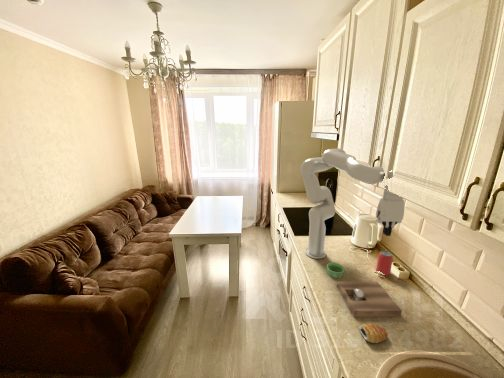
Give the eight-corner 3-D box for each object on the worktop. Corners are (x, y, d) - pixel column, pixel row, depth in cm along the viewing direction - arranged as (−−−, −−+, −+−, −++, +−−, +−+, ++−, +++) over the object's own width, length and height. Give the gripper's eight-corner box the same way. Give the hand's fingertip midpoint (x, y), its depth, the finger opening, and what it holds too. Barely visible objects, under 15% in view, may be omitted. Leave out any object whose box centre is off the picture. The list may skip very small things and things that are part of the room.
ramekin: (326, 267, 122) (326, 261, 121) (343, 271, 119) (344, 264, 118) (325, 277, 114) (326, 270, 113) (344, 281, 111) (344, 274, 110)
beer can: (387, 270, 120) (391, 251, 117) (391, 277, 114) (395, 257, 111) (374, 268, 122) (377, 249, 119) (377, 275, 116) (381, 255, 113)
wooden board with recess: (336, 286, 107) (337, 281, 106) (376, 286, 107) (377, 281, 107) (353, 316, 90) (354, 310, 89) (400, 316, 90) (401, 310, 89)
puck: (359, 298, 101) (352, 298, 101) (358, 287, 101) (352, 287, 101) (364, 302, 96) (358, 302, 96) (363, 290, 96) (357, 290, 96)
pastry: (379, 327, 85) (380, 319, 84) (392, 342, 78) (393, 334, 77) (357, 329, 84) (358, 321, 83) (368, 345, 77) (369, 336, 76)
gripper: (404, 194, 98) (397, 230, 103) (371, 194, 98) (366, 231, 103) (416, 199, 91) (408, 238, 95) (381, 199, 91) (375, 238, 95)
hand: (386, 234), depth 99 cm, fingers closed
